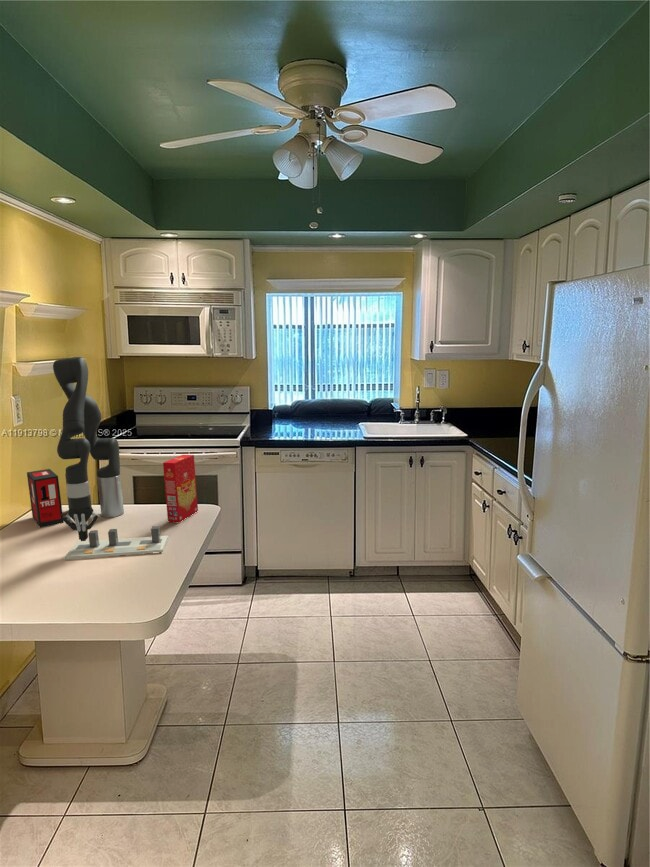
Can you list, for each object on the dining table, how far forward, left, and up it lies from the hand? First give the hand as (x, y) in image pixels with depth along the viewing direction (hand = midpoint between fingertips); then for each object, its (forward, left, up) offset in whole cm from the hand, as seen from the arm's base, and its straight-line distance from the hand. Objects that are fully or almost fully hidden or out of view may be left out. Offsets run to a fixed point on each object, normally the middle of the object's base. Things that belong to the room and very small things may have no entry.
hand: (83, 540), depth 205 cm
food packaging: (-30, +31, -4) cm, 44 cm away
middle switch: (0, +10, -2) cm, 10 cm away
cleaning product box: (-38, -26, -4) cm, 46 cm away
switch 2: (0, +25, -2) cm, 25 cm away
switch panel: (+2, +12, -4) cm, 13 cm away
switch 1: (0, +4, -2) cm, 4 cm away
